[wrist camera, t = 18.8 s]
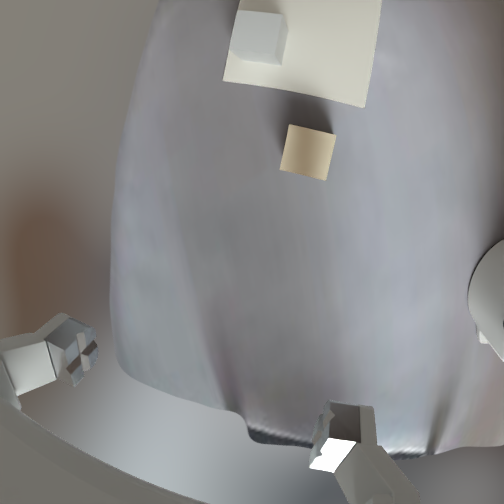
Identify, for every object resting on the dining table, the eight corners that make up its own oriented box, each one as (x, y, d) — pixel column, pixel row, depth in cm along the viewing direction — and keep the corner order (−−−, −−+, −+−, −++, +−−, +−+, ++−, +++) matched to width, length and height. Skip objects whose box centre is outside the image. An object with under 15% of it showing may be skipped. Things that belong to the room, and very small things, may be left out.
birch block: (333, 135, 33) (336, 135, 28) (324, 173, 35) (325, 180, 30) (293, 125, 33) (289, 124, 28) (285, 164, 35) (279, 169, 30)
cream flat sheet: (386, -45, 22) (386, -46, 22) (364, 108, 31) (364, 108, 31) (257, -65, 24) (257, -66, 24) (223, 81, 33) (222, 80, 33)
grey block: (288, 30, 29) (282, 14, 24) (281, 65, 31) (274, 54, 26) (249, 26, 30) (237, 10, 25) (241, 60, 31) (228, 49, 26)
